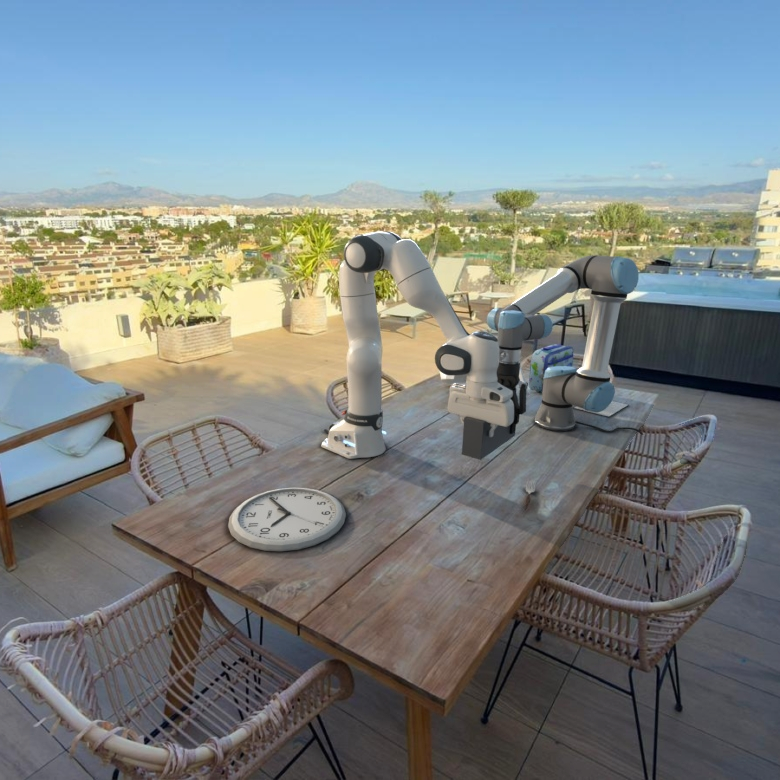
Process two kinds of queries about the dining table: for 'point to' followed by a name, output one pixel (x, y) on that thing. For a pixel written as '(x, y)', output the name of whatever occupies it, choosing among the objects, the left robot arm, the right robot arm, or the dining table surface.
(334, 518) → the wall clock
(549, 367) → the right robot arm
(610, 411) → the invitation card
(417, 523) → the dining table surface
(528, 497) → the fork
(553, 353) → the lunch box
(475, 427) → the box
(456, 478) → the dining table surface
